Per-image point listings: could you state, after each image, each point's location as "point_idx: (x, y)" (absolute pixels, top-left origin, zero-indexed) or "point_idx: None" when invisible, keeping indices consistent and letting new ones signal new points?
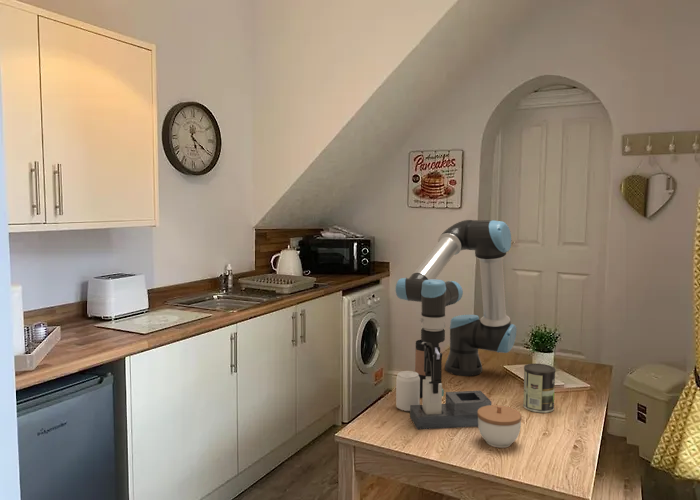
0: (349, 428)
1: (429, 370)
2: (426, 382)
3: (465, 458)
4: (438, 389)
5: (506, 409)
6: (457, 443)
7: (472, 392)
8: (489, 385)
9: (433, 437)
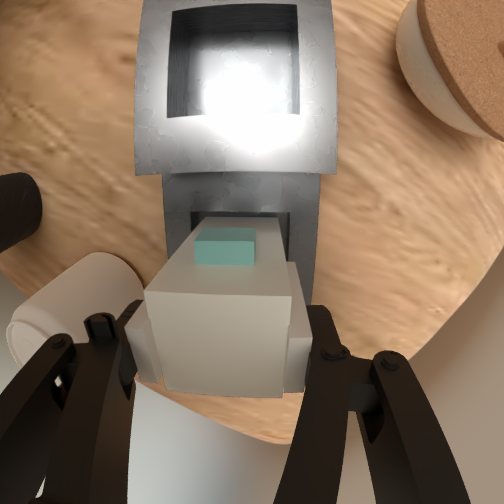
0: (258, 435)
1: (123, 402)
2: (232, 389)
3: (492, 219)
4: (303, 307)
5: (475, 3)
6: (427, 204)
7: (164, 19)
8: (7, 14)
9: (371, 269)
